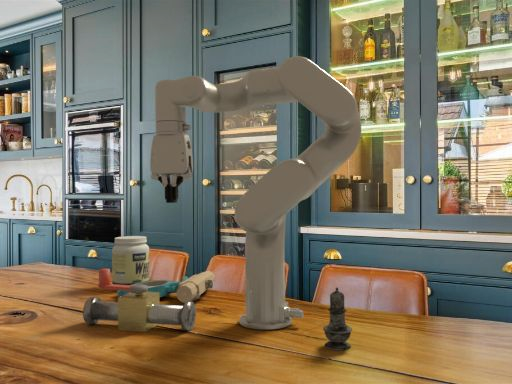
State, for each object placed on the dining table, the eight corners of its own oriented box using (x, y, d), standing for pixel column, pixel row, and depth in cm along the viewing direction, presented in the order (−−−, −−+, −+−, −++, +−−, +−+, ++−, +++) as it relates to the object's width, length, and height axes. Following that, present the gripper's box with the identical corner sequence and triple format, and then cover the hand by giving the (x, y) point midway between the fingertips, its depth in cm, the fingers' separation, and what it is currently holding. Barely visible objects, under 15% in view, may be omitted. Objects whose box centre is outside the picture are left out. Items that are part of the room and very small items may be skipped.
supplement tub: (137, 292, 145) (136, 239, 145) (104, 290, 149) (103, 238, 149) (156, 285, 157) (156, 235, 157) (126, 283, 160) (125, 235, 160)
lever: (151, 290, 109) (150, 270, 109) (141, 293, 106) (141, 273, 106) (105, 286, 114) (105, 267, 114) (94, 290, 110) (94, 270, 110)
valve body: (196, 325, 108) (196, 291, 108) (185, 334, 102) (184, 298, 102) (99, 319, 115) (98, 287, 115) (82, 327, 108) (81, 293, 108)
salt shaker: (332, 339, 97) (331, 283, 97) (357, 345, 93) (356, 286, 93) (317, 346, 93) (316, 287, 93) (343, 353, 89) (342, 291, 89)
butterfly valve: (98, 316, 127) (201, 308, 122) (95, 292, 128) (198, 282, 123) (138, 295, 154) (224, 287, 149) (136, 275, 154) (222, 266, 149)
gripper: (203, 130, 118) (204, 202, 118) (150, 133, 121) (151, 202, 121) (192, 126, 110) (193, 202, 110) (136, 129, 114) (137, 203, 114)
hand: (171, 202), depth 116 cm, fingers closed
